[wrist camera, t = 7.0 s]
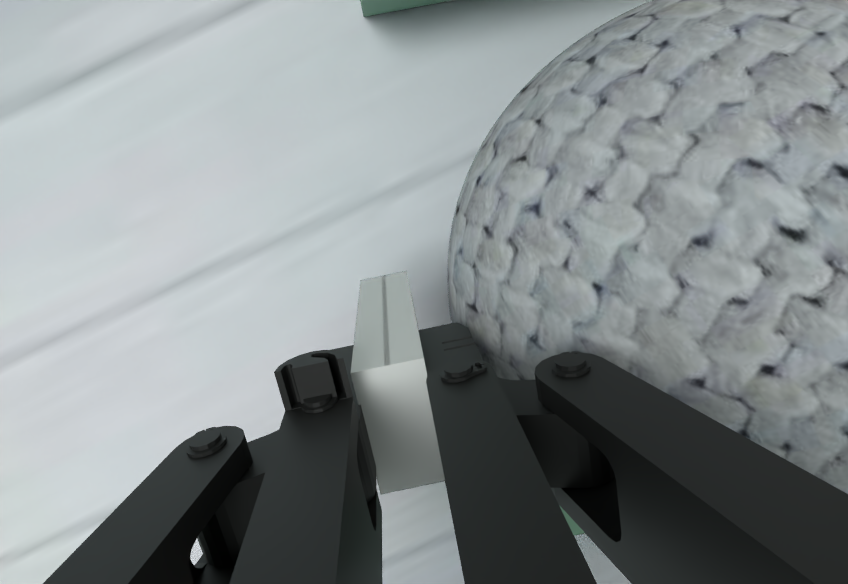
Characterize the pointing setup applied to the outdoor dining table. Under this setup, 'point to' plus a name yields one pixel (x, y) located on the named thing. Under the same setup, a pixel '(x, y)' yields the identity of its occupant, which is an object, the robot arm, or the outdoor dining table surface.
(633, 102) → the decorative ball
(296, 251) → the outdoor dining table surface
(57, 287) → the outdoor dining table surface
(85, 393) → the outdoor dining table surface
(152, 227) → the outdoor dining table surface
